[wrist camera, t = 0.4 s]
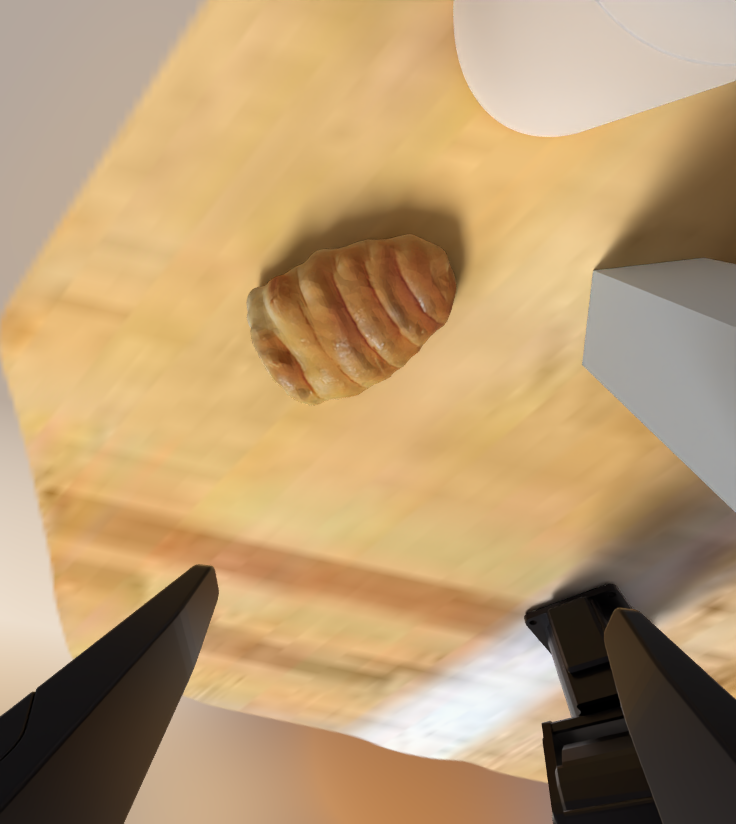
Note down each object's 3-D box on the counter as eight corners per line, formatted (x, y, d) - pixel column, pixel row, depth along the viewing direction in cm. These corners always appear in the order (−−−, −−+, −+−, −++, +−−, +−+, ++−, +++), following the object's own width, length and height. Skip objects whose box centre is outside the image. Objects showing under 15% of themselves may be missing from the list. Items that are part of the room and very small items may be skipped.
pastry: (416, 189, 17) (419, 188, 14) (477, 326, 20) (491, 353, 17) (244, 294, 20) (212, 314, 17) (317, 403, 23) (302, 439, 19)
